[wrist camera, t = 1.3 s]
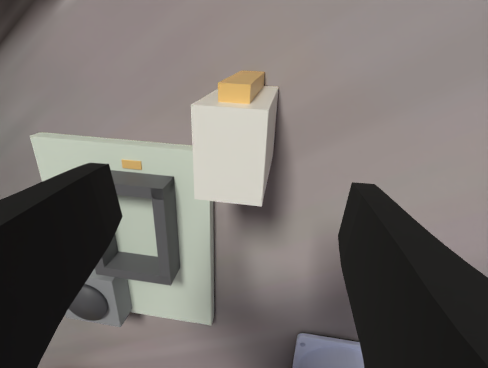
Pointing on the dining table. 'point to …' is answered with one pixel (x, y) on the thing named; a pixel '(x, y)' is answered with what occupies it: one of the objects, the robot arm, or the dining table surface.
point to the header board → (143, 230)
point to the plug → (234, 139)
